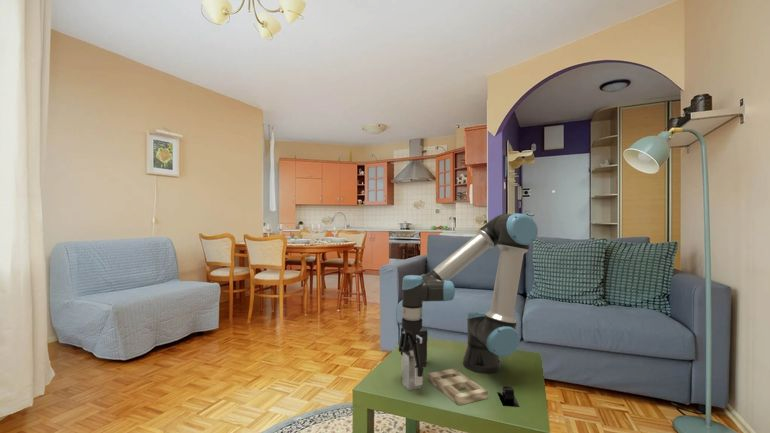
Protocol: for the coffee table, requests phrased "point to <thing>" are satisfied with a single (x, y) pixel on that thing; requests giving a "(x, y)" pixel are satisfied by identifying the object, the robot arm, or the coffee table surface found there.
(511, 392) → the black mounting bracket
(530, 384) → the coffee table surface
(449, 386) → the plate
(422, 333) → the camera lens
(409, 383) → the square peg
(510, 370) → the coffee table surface
